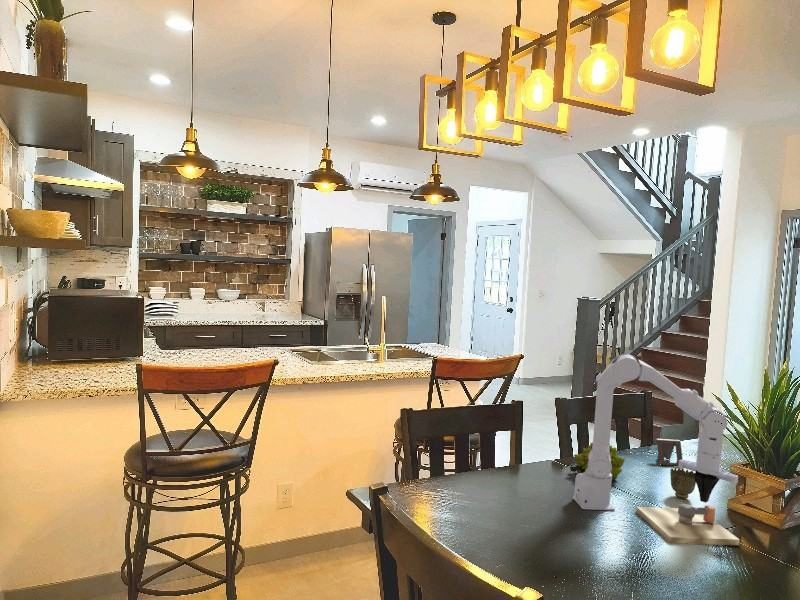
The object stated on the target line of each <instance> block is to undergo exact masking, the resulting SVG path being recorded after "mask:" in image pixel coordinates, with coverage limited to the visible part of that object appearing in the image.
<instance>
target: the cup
mask: <svg viewBox="0 0 800 600" xmlns="http://www.w3.org/2000/svg"><path fill="white" fill-rule="evenodd" d="M669 470H670V474H669V475H670V485H671V488H672V490H673V491H674V492H675V493H674V495H675V497H676V498H678V499H680V500H687V499H688V498H689V495H690V494H692V493H693V492H694V490H695V488H696V485H697V484H696V481H695V479H694V474H695V472H694V471H692V470H689V469H686V470H685V468H679V467H678V469H677V468H676V467H675V468H674V467H673V468H670V469H669Z"/></svg>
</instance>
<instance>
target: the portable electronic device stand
mask: <svg viewBox="0 0 800 600" xmlns="http://www.w3.org/2000/svg"><path fill="white" fill-rule="evenodd" d="M653 441H654V444H655V445H656V446H657V457H656V459H657V458H658V459H659V460H658V465H659V464H661V465H666V466H665V467H674V466H678V464H679V460H681V459H683V450H682V445H681V444H682V443H681V440H680V439H669V438H654V440H653ZM674 449H675V453H676V462H671V461H670V460H671V457H672V454H673V451H674ZM666 459H669V460H666Z"/></svg>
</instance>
